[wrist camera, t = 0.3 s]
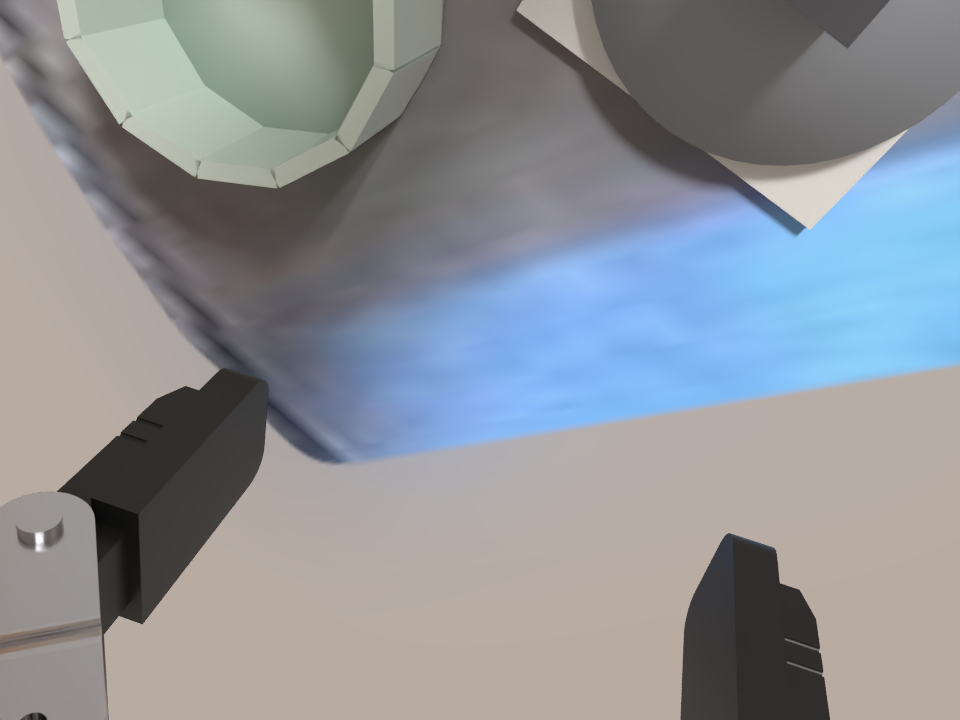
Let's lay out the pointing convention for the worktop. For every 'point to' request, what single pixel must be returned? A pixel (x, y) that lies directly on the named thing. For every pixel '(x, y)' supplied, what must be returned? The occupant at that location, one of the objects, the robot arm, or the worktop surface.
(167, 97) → the bowl
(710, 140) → the lid
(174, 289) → the worktop surface
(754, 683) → the robot arm
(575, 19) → the mat
